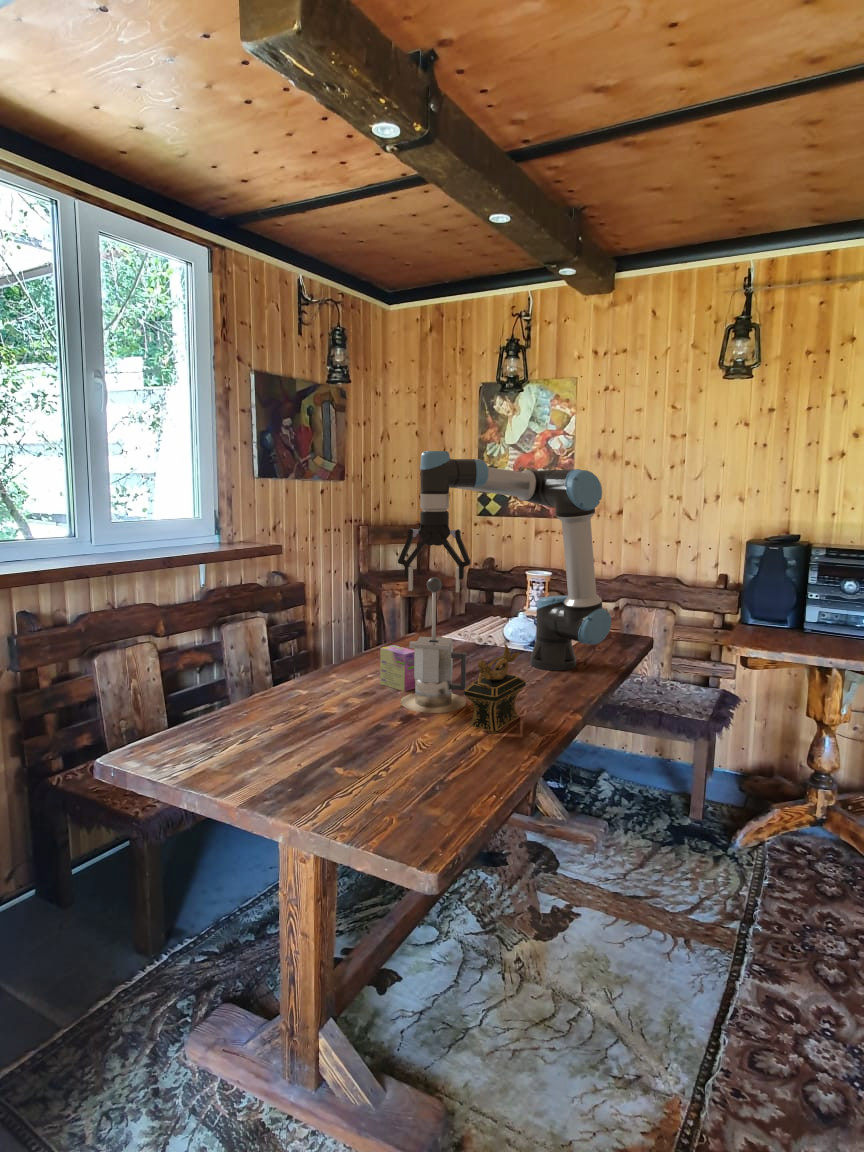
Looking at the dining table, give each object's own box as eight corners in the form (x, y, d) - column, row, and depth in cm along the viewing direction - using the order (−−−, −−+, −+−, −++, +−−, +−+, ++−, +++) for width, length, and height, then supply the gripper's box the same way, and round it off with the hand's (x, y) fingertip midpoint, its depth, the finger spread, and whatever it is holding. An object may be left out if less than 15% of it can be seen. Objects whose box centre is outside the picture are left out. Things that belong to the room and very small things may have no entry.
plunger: (442, 638, 191) (442, 576, 189) (440, 641, 187) (440, 578, 185) (427, 637, 192) (427, 576, 189) (425, 640, 188) (425, 578, 185)
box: (418, 689, 205) (418, 650, 204) (404, 694, 201) (404, 654, 199) (393, 682, 212) (393, 644, 211) (379, 686, 208) (379, 647, 206)
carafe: (466, 697, 196) (467, 638, 193) (463, 709, 186) (464, 647, 184) (412, 694, 198) (413, 636, 195) (406, 706, 188) (407, 644, 186)
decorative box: (495, 738, 168) (497, 658, 165) (461, 729, 174) (462, 652, 171) (532, 715, 185) (534, 642, 182) (500, 707, 190) (502, 637, 187)
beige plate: (468, 695, 200) (468, 693, 200) (462, 717, 182) (462, 714, 182) (406, 692, 202) (406, 689, 202) (394, 713, 185) (395, 710, 185)
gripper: (481, 510, 186) (480, 589, 190) (392, 508, 190) (392, 587, 193) (479, 511, 179) (478, 594, 182) (386, 510, 182) (386, 591, 186)
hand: (434, 591), depth 188 cm, fingers open, 12 cm apart
